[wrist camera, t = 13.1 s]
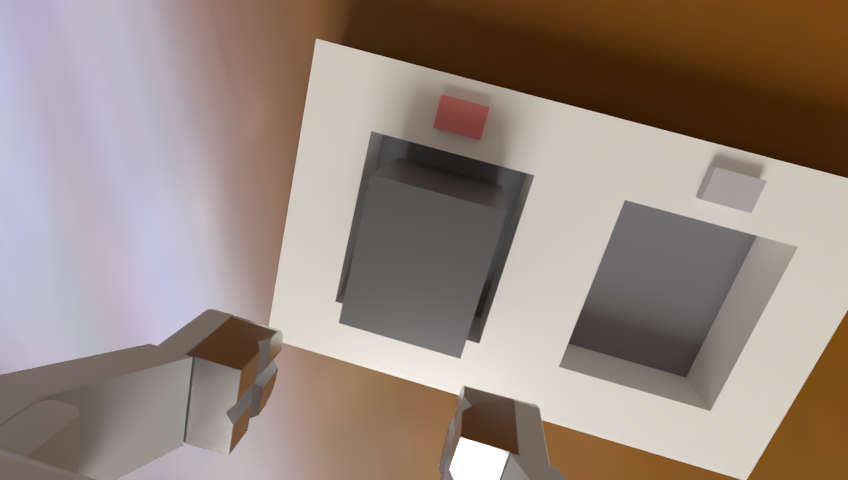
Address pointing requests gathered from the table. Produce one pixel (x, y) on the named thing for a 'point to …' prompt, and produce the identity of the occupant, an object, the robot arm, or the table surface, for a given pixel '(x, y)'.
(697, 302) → the socket board
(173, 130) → the table surface
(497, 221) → the plug
